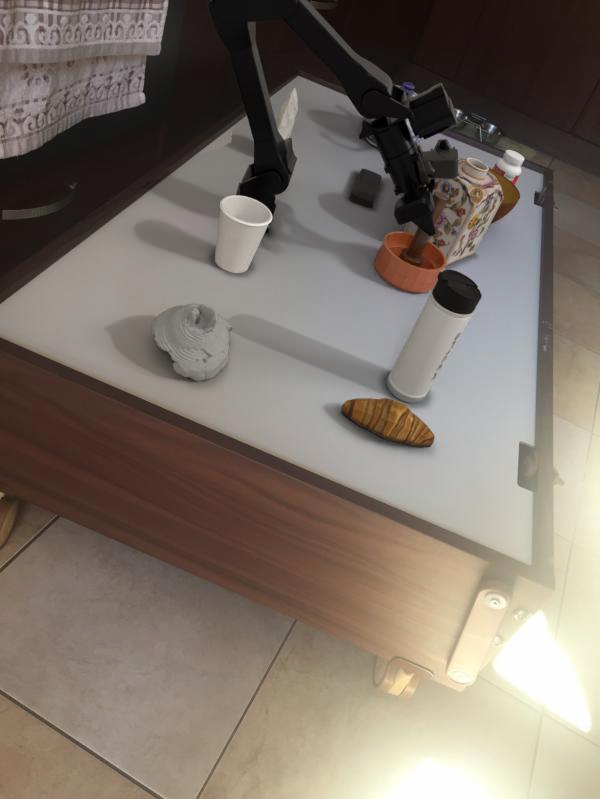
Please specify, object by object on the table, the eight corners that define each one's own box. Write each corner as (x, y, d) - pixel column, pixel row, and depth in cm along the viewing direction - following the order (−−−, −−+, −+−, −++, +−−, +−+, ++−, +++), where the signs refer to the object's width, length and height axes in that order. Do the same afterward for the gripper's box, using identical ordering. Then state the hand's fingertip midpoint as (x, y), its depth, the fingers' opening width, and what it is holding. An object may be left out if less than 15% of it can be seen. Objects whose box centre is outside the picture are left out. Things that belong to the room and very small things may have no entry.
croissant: (334, 428, 98) (347, 402, 95) (343, 397, 103) (355, 372, 100) (428, 464, 98) (443, 439, 95) (431, 432, 104) (446, 407, 100)
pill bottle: (489, 203, 170) (512, 160, 163) (476, 189, 174) (497, 146, 167) (509, 205, 173) (532, 162, 166) (495, 191, 177) (518, 149, 170)
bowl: (481, 254, 150) (505, 211, 143) (409, 212, 154) (429, 169, 147) (507, 229, 163) (530, 189, 156) (440, 191, 167) (459, 151, 160)
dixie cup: (234, 243, 124) (249, 191, 117) (266, 271, 121) (283, 219, 114) (196, 253, 118) (209, 198, 112) (228, 282, 115) (244, 228, 109)
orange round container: (382, 291, 128) (394, 265, 124) (365, 252, 136) (376, 226, 132) (442, 299, 132) (455, 274, 128) (422, 261, 140) (434, 237, 136)
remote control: (370, 211, 150) (380, 180, 161) (373, 203, 149) (383, 173, 160) (348, 202, 150) (359, 172, 161) (350, 194, 149) (362, 165, 160)
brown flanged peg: (417, 269, 129) (448, 205, 121) (395, 257, 130) (425, 193, 122) (425, 261, 133) (456, 198, 124) (404, 249, 133) (434, 186, 125)
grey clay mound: (234, 393, 101) (258, 353, 92) (149, 391, 96) (166, 348, 88) (223, 321, 106) (245, 276, 98) (142, 315, 101) (157, 268, 93)
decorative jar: (399, 234, 145) (437, 151, 133) (430, 224, 153) (468, 144, 141) (445, 268, 141) (488, 184, 129) (475, 255, 148) (518, 175, 137)
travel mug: (380, 371, 110) (435, 261, 98) (420, 378, 112) (479, 271, 99) (387, 399, 106) (445, 288, 93) (428, 406, 108) (491, 299, 95)
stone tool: (272, 166, 150) (293, 95, 140) (259, 159, 150) (280, 88, 141) (289, 155, 156) (311, 86, 147) (277, 148, 157) (297, 79, 147)
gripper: (446, 151, 109) (480, 239, 117) (444, 110, 123) (475, 190, 131) (377, 181, 113) (415, 263, 121) (383, 137, 127) (417, 213, 136)
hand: (432, 230), depth 127 cm, fingers closed on brown flanged peg, 2 cm apart
